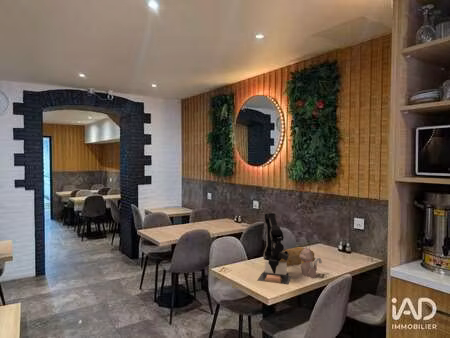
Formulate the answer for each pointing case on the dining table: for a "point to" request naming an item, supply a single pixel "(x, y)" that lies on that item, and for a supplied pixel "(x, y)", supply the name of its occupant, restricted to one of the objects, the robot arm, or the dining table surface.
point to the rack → (285, 278)
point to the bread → (294, 256)
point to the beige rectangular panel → (279, 269)
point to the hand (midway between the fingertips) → (275, 271)
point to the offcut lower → (273, 281)
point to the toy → (308, 263)
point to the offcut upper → (273, 277)
